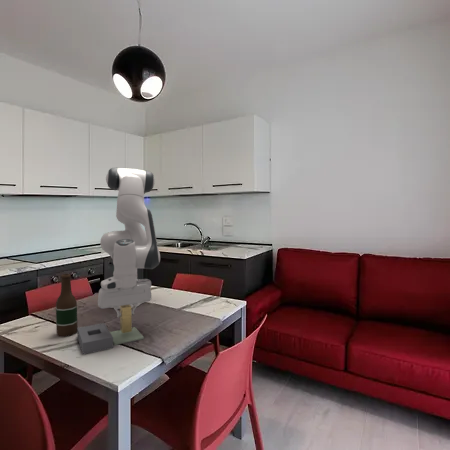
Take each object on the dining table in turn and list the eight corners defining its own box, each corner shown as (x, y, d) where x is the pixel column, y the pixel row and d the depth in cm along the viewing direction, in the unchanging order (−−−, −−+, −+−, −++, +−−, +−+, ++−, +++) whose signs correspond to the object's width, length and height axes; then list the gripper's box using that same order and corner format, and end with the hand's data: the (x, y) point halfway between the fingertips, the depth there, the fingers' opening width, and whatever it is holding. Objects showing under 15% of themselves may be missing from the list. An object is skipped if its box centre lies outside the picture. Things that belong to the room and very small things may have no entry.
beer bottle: (63, 338, 121) (62, 277, 120) (52, 334, 126) (50, 275, 124) (81, 332, 128) (80, 273, 127) (70, 328, 132) (69, 271, 131)
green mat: (107, 333, 126) (107, 332, 126) (135, 328, 132) (135, 327, 132) (114, 345, 116) (114, 343, 116) (143, 338, 122) (143, 337, 122)
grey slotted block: (77, 337, 122) (77, 327, 122) (104, 332, 128) (104, 323, 127) (83, 354, 109) (82, 343, 109) (113, 347, 114) (112, 337, 114)
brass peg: (120, 330, 125) (120, 305, 124) (129, 328, 126) (128, 304, 126) (122, 333, 122) (122, 307, 121) (131, 331, 124) (131, 306, 123)
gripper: (148, 276, 131) (148, 309, 132) (96, 282, 120) (97, 317, 121) (153, 279, 126) (153, 313, 127) (99, 285, 115) (100, 322, 116)
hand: (125, 315), depth 124 cm, fingers closed on brass peg, 3 cm apart
